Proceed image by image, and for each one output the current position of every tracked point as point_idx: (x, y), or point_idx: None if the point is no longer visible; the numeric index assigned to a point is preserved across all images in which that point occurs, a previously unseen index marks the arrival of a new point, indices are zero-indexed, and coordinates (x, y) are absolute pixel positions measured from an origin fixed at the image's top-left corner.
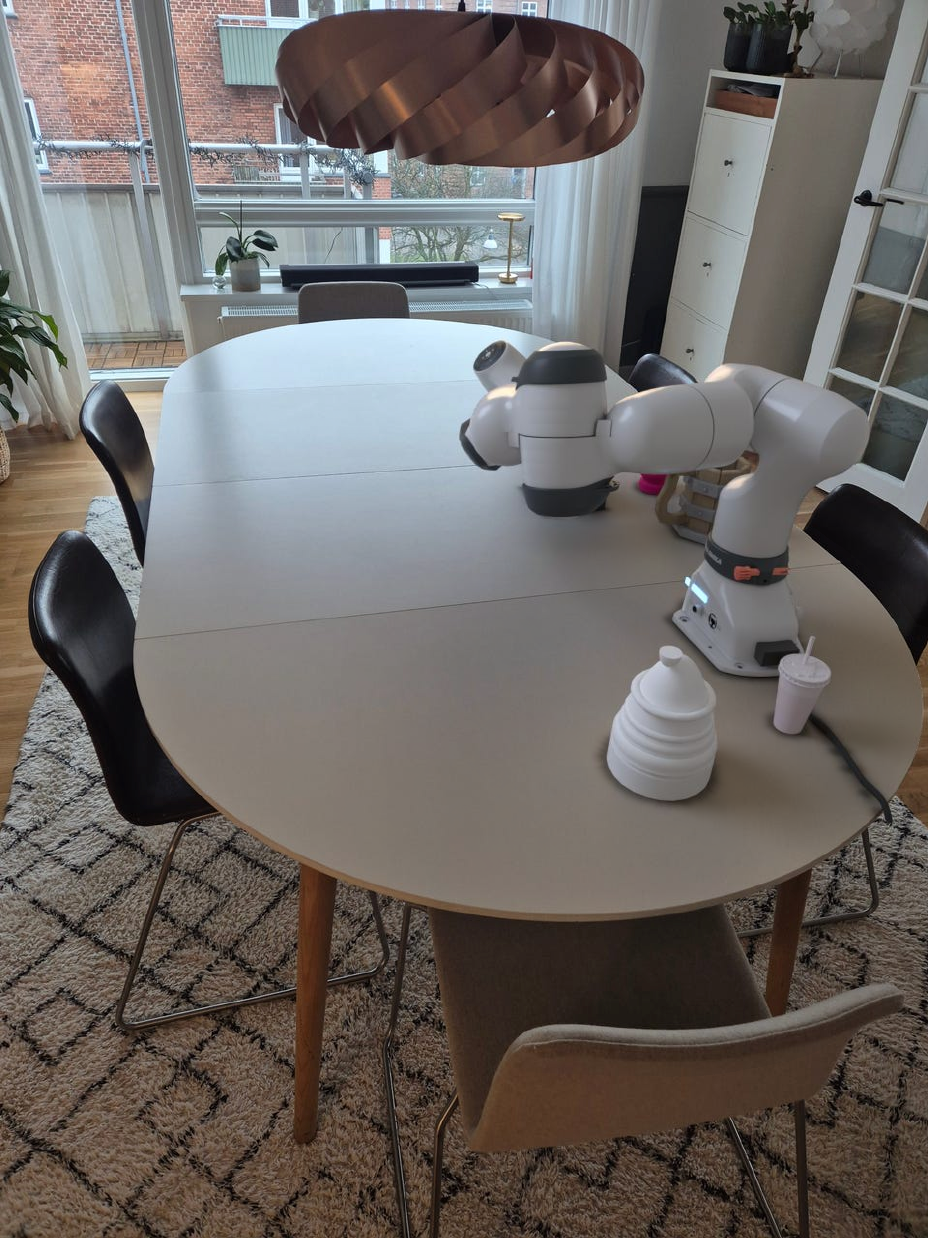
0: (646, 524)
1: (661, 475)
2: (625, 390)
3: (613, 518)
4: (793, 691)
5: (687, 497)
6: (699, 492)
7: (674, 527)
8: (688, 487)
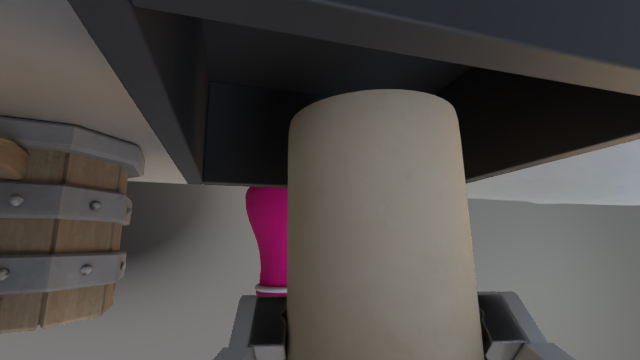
0: (63, 97)
1: (246, 198)
2: (536, 201)
3: (104, 57)
4: None
5: (19, 219)
6: None
7: (37, 125)
8: (21, 247)
